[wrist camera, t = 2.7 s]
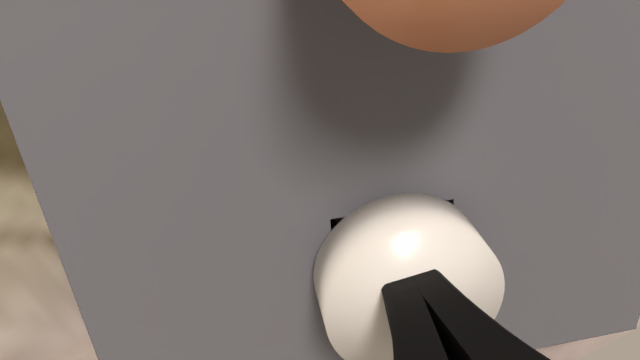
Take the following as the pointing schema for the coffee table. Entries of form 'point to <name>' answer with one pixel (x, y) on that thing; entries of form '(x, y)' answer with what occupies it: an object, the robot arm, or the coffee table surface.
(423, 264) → the white rounded piece
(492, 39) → the terracotta button
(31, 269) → the coffee table surface
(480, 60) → the button panel
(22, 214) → the coffee table surface
